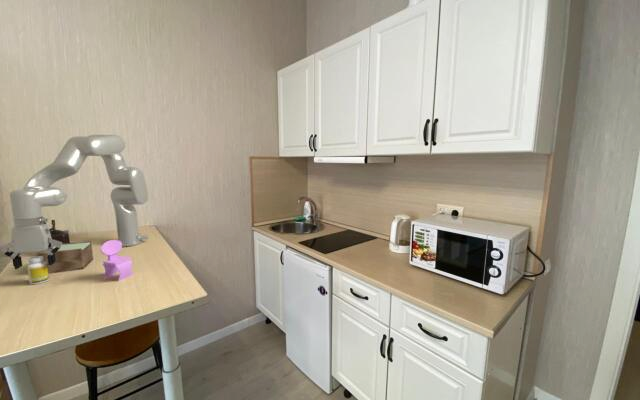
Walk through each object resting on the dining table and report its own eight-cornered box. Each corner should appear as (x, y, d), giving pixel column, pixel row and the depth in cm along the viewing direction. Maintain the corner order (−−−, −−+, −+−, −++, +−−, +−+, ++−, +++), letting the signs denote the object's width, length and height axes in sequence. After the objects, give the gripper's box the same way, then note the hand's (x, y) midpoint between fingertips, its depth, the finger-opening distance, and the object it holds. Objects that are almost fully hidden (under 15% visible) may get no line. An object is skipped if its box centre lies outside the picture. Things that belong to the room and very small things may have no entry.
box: (93, 259, 130) (90, 241, 128) (83, 269, 119) (80, 249, 117) (55, 263, 124) (52, 244, 123) (40, 274, 114) (37, 253, 112)
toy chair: (116, 282, 107) (111, 245, 104) (100, 279, 110) (95, 243, 107) (136, 273, 115) (132, 239, 112) (120, 271, 117) (116, 237, 115)
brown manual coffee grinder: (42, 251, 140) (36, 216, 137) (71, 246, 147) (66, 213, 144) (39, 260, 128) (33, 222, 125) (71, 254, 136) (66, 219, 133)
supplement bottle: (52, 279, 109) (48, 256, 107) (35, 285, 104) (30, 261, 102) (44, 277, 111) (40, 254, 109) (26, 283, 106) (22, 259, 104)
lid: (90, 243, 127) (89, 238, 127) (82, 250, 119) (81, 244, 118) (50, 247, 122) (49, 241, 121) (39, 254, 114) (38, 248, 113)
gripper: (63, 218, 110) (68, 259, 112) (4, 222, 103) (11, 265, 106) (53, 222, 103) (59, 266, 106) (-10, 226, 96) (-2, 273, 99)
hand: (35, 265), depth 106 cm, fingers open, 9 cm apart
